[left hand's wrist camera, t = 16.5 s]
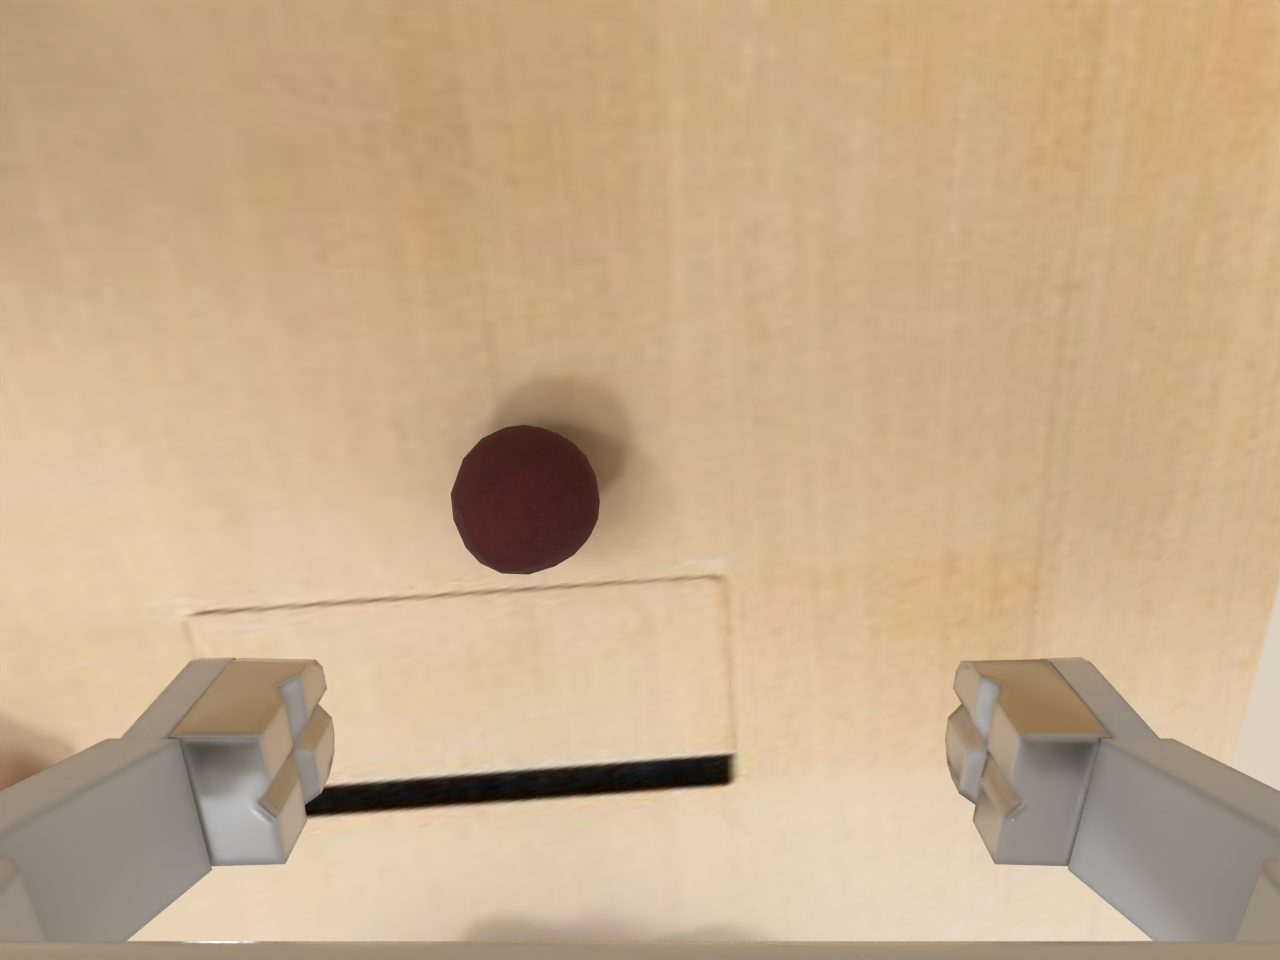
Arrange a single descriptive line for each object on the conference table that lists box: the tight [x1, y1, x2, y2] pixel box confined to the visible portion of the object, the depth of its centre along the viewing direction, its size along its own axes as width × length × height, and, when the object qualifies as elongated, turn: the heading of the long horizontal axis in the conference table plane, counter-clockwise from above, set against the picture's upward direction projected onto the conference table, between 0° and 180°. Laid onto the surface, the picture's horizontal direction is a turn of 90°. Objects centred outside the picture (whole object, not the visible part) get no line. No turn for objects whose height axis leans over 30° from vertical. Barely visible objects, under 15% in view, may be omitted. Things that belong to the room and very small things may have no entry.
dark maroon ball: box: [451, 425, 600, 574], centre depth 42 cm, size 7×8×7 cm
